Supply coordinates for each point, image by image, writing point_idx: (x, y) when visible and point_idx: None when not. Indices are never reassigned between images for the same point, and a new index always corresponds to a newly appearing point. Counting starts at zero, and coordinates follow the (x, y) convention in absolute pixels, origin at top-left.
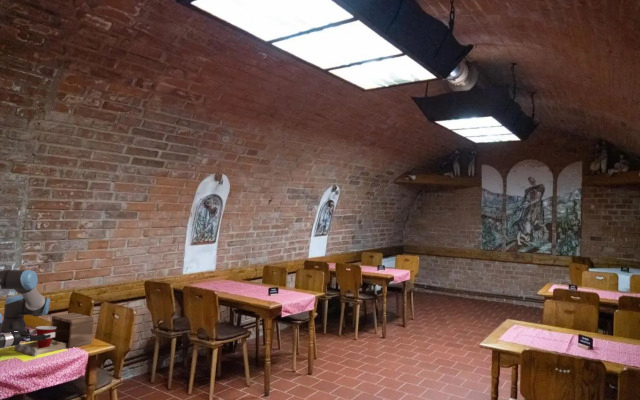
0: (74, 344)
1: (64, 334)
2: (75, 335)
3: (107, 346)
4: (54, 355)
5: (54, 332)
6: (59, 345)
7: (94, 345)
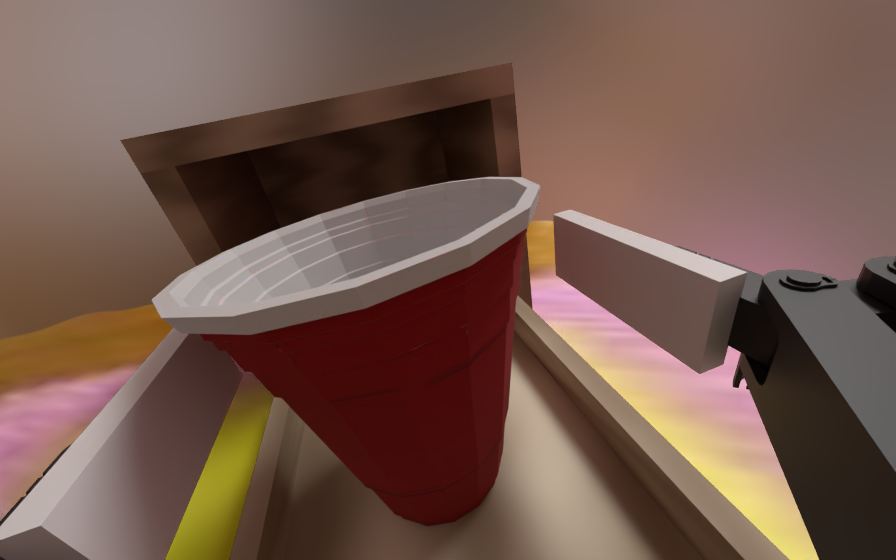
0: None
1: None
2: None
3: (540, 223)
4: None
5: (569, 213)
6: (547, 328)
7: None
